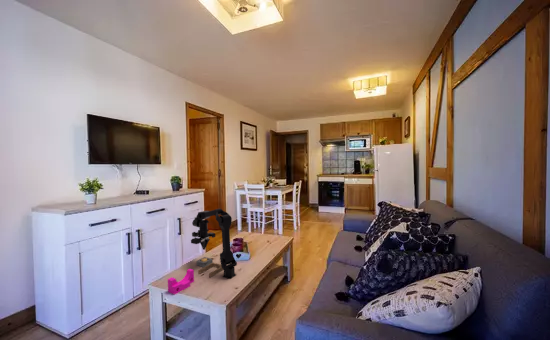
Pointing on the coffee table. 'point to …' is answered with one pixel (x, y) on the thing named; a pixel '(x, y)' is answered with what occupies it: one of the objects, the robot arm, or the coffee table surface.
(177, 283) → the toy block
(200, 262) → the button housing
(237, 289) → the coffee table surface
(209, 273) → the brown wooden u-shaped frame
